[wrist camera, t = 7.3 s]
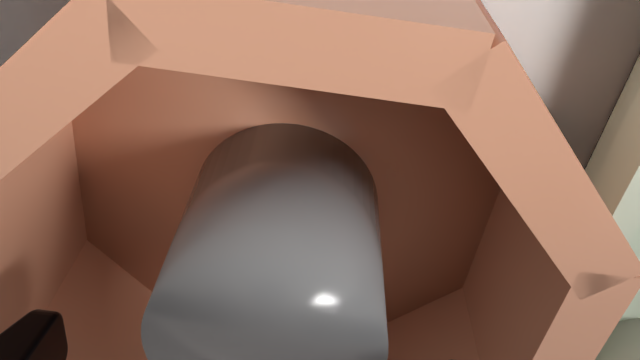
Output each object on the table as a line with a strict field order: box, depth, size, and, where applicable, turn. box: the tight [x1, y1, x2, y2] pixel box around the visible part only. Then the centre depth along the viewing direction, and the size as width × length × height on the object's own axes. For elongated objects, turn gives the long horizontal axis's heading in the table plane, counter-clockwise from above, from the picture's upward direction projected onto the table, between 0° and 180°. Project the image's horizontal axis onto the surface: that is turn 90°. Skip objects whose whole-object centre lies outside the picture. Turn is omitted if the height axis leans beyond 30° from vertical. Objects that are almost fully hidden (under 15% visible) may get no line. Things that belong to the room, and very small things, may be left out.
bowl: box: [0, 0, 640, 360], centre depth 11 cm, size 11×11×4 cm
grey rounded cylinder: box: [141, 123, 388, 360], centre depth 11 cm, size 4×4×4 cm
